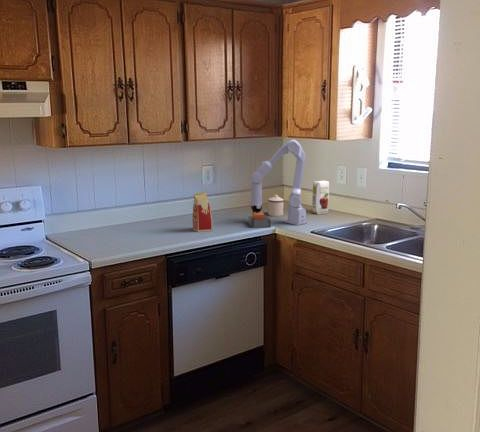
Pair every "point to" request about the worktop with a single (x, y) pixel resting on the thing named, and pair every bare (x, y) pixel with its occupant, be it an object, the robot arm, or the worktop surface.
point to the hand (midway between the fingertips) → (256, 219)
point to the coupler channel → (259, 222)
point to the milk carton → (201, 213)
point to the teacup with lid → (275, 206)
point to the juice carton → (320, 197)
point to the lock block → (257, 215)
